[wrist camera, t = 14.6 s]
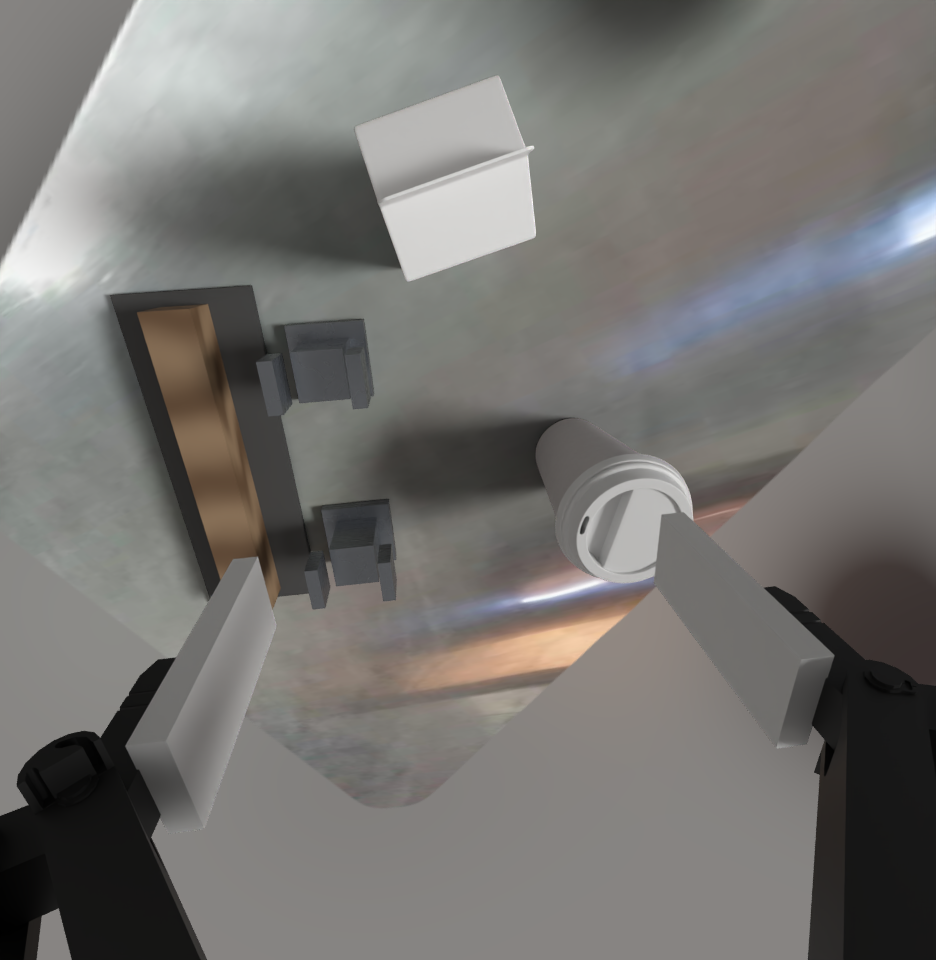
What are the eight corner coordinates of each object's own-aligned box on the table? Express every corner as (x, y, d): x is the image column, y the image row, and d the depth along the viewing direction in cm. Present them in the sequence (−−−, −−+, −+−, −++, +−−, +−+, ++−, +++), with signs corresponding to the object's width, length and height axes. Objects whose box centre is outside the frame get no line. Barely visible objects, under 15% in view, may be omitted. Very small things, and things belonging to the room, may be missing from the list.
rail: (159, 307, 38) (136, 312, 35) (207, 304, 38) (189, 308, 35) (243, 592, 49) (231, 615, 46) (280, 588, 49) (271, 611, 46)
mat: (114, 294, 38) (110, 295, 37) (251, 285, 39) (249, 285, 38) (214, 600, 49) (211, 603, 49) (318, 588, 50) (317, 592, 50)
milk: (379, 184, 37) (337, 99, 17) (458, 156, 37) (513, 35, 16) (408, 271, 39) (403, 287, 19) (482, 245, 39) (556, 234, 19)
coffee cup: (562, 380, 44) (631, 437, 30) (640, 437, 47) (734, 512, 33) (498, 466, 47) (534, 554, 33) (575, 514, 50) (638, 613, 36)
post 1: (283, 324, 40) (251, 342, 32) (367, 318, 40) (357, 335, 32) (298, 399, 42) (272, 433, 34) (377, 392, 43) (370, 424, 35)
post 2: (319, 505, 47) (300, 558, 39) (392, 498, 47) (388, 549, 39) (330, 561, 49) (315, 621, 41) (399, 553, 49) (397, 611, 41)
